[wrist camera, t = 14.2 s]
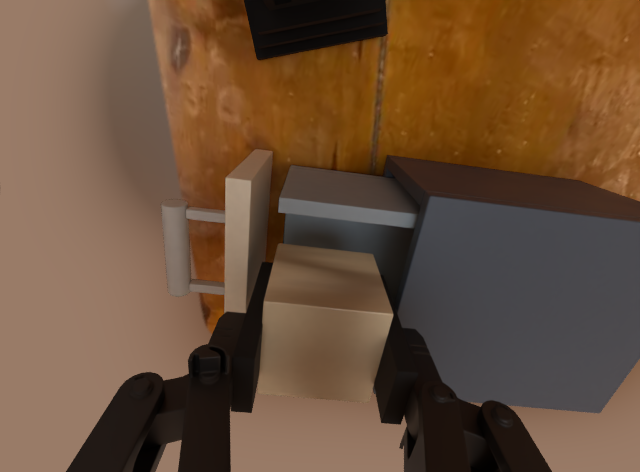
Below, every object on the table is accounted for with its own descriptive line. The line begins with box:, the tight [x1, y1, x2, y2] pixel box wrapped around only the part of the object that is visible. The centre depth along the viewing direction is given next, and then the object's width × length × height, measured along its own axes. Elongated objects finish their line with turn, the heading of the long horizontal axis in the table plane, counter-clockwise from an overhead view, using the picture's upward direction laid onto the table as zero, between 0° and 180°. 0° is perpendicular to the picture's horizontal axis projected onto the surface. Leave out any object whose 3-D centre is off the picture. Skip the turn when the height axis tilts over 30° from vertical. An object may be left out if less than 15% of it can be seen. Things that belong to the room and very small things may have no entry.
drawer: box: [161, 149, 421, 314], centre depth 21 cm, size 18×11×8 cm, turn 83°
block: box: [257, 243, 393, 403], centre depth 15 cm, size 5×5×5 cm
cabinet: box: [373, 155, 640, 413], centre depth 21 cm, size 15×13×10 cm
